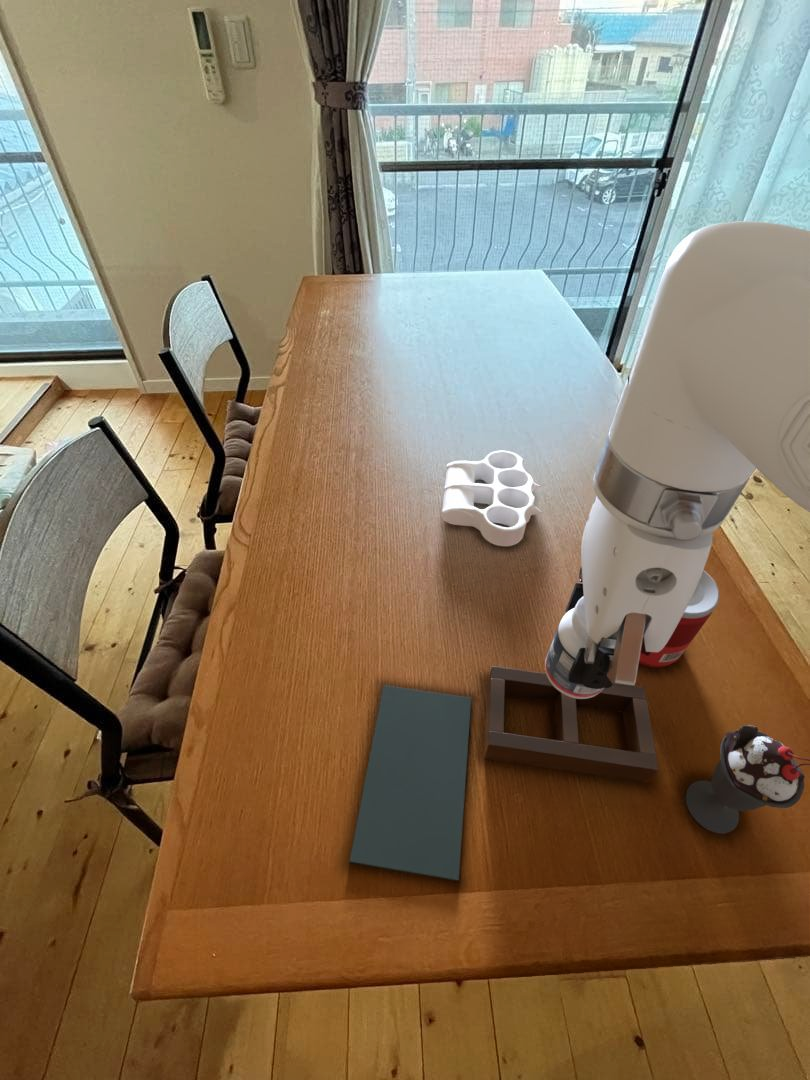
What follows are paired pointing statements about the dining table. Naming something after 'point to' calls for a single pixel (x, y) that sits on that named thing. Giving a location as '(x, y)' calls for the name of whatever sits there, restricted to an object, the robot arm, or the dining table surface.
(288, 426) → the dining table surface
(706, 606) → the canned food
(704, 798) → the sundae
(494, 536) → the white brass knuckles
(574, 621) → the pill bottle
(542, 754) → the holder
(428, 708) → the mat
